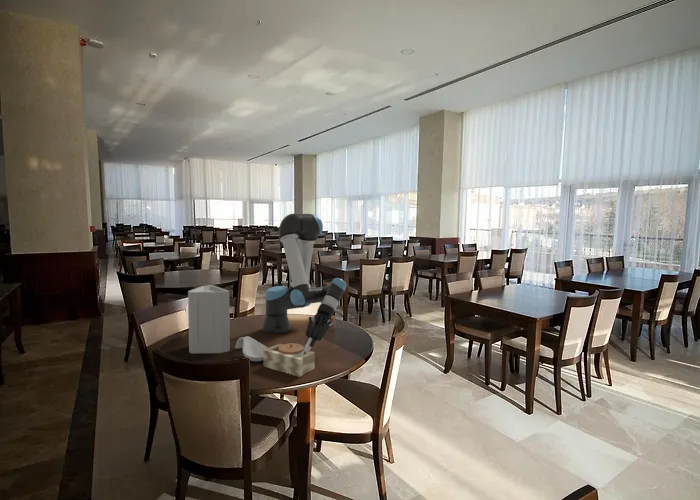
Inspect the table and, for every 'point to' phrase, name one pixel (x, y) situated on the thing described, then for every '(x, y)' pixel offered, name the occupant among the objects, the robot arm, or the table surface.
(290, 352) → the lidded jar
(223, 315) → the grey triangular prism
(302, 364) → the open wooden box
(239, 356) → the table surface
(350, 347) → the table surface
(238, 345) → the spoon rest
